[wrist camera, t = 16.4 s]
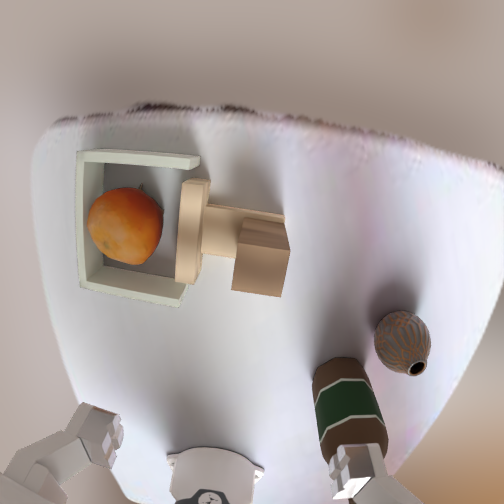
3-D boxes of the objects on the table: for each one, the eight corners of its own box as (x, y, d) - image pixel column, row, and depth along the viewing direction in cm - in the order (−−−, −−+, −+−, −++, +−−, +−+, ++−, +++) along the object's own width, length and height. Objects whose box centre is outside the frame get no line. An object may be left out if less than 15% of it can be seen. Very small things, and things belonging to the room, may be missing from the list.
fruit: (193, 203, 31) (147, 256, 25) (166, 238, 36) (127, 286, 31) (135, 153, 29) (80, 197, 24) (117, 196, 35) (73, 238, 30)
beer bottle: (315, 399, 41) (334, 549, 19) (306, 362, 39) (327, 534, 16) (366, 386, 40) (408, 530, 18) (363, 348, 38) (419, 509, 15)
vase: (363, 315, 36) (384, 359, 28) (412, 294, 35) (443, 333, 27) (373, 353, 38) (392, 399, 30) (418, 334, 37) (444, 375, 29)
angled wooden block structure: (272, 280, 35) (274, 327, 26) (183, 266, 35) (158, 308, 26) (288, 191, 31) (297, 212, 23) (192, 177, 31) (163, 193, 22)
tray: (188, 288, 36) (178, 308, 31) (97, 271, 35) (79, 287, 31) (200, 156, 30) (190, 158, 26) (98, 148, 30) (76, 151, 26)
